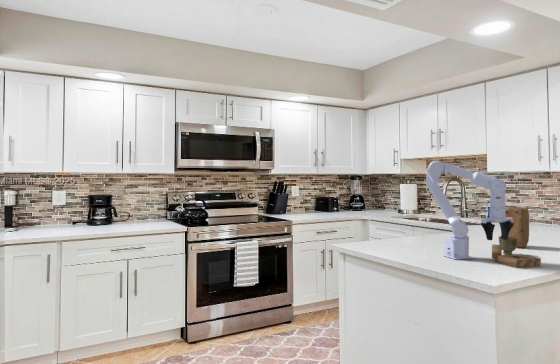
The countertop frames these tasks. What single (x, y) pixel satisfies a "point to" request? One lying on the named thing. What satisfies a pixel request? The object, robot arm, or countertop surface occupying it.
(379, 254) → the countertop surface
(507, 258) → the board
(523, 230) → the block
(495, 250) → the peg
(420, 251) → the countertop surface
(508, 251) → the cup
